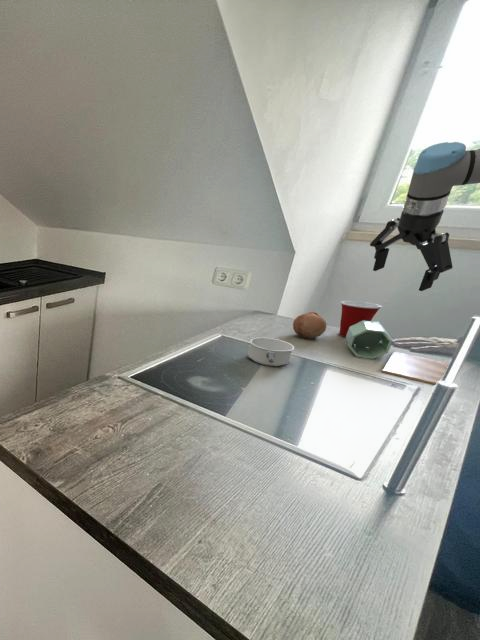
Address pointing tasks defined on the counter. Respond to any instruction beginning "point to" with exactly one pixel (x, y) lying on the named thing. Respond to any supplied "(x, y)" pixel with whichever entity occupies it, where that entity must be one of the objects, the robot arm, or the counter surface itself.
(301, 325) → the onion
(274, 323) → the counter surface
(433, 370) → the wooden cutting board
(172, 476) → the counter surface
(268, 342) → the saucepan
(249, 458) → the counter surface
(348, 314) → the plastic cup
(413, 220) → the robot arm
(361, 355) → the tumbler
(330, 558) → the counter surface
